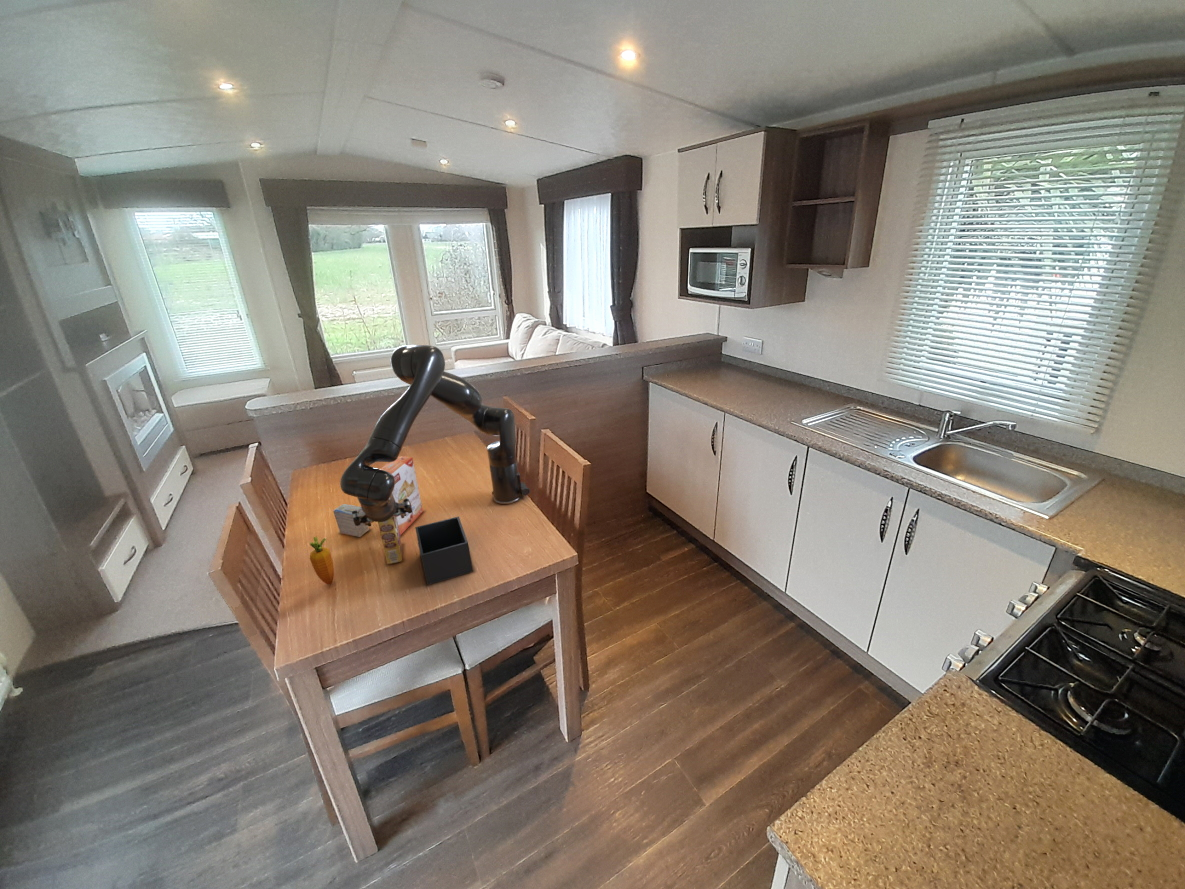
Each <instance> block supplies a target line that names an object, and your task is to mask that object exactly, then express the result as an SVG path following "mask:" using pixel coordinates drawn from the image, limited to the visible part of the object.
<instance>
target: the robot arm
mask: <svg viewBox="0 0 1185 889" xmlns="http://www.w3.org/2000/svg"><path fill="white" fill-rule="evenodd" d="M390 365H391V369H392V371H393V373H394V374H395V376H396V377H397V378H398V379H399V380H400V381H402V382H403V383H405V384H407V385H409V386H408V388H407V389H406V391H405V392H404V393H403V394H402V395H401V396H400V397H399V398H398V399H397V400H396V401H395V402H394V403H392V404H391V405H390V407H388V408H387V409H386V410H385V411H384V412H383V413H382V415H380V417H379V418H378V420H377V422H376V424H375V425H374V428H373V430H372V432H371V434H370V436H369V439H368V441H367V442H366V444H365V446H364V447H363V449H362V450H361V451H360V453H358V455H357V456H356V458H354V459H353V461H351V463H350V464H349V465H348V466H347V467H346V469H345V470H344V472H343V473H342V475H341V476H340V477H341V478H340V481H339V482H340V483H339V484H340V489H341V491H342V492H343V494H345V495H347V496H351V497H355V498H357V500H358V503H359V504H360V507H361V508H362V510H363V512H361V513H360V512H357V511H353V512H352V515H353V520H354V523H355V525H356V526H359V525H361V524H360V523H363V524H364V525H368V526H369V527H372V523H378V522H384V521H387V520H389V519H390V518H391V517H397V516H400V515H401V518H404V516H406V513H407V512H408V513H412V512H413V511H412V506H411V503H410V501H409V499H404V501H403V503H400V504H398V503H397V502H395V499H394V496H393V494H392V492H393V490H394V487H395V478H394V476H393V475H392V474H391V473H389V472H387V471H384V470H380V469H381V468H376V467H374V466H372V465H373V464H376V463H389V462H394V461H395V460H396V459H397V458H398V456H400V454H401V451H402V450H403V446H404V444H405V442H406V440H407V437H408V434H409V433H410V431H411V428H412V427H413V424H414V422H415V420H416V418H417V417H418V416H419V414H420V412H421V411H422V410H423V408H424V406H425V405H426V403H427V401H428V400H429V399H430V397H432V398H433V399H434V400H436V401H437V402H439V403H441V404H442V405H443V406H445V407H446V408H448V409H449V410H450V411H452V412H454V413H456V414H457V415H459V416H461V417H462V418H464V419H465V420H467V421H468V422H470V423H471V424H472V425H473V426H474V427H475V428H476V429H477V430H478V431H480V432H481V433H482V434H484V435H487V436H494V437H499V440H495V441H494V442H492V443H490V444H489V445H488V446H487V449H486V450H487V457H488V458H487V459H488V464H489V465H488V466H489V471H490V479H491V480H490V481H491V488H492V491H491V496H492V497H493V501H494V502H495V503H497V504H500V505H509V504H510V505H511V504H514V503H516V502H518V501H520V499H523V497H524V496H525V497H526V496H528V495H529V494H530V492H531V489H530V488H529V487H528V486H527V485H526V483H525V482H524V481H523V482H522V481H521V474H520V472H519V468H518V460H517V449H516V446H517V435H516V434H517V433H516V419H515V413H514V412H513V410H512V409H510V408H505V407H495V406H488V405H486V404H484V403H483V401H482V400H483V398H482V395H481V392H480V391H479V390H478V388H477V387H475V386H474V385H473V384H472V383H471V382H469V381H468V380H466V379H464V378H463V377H460V376H459V375H456V374H453V373H450V372H448V371H445V369H446V360H445V356H444V354H443V352H442V350H441V349H440V348H438V347H437V346H435V345H428V344H427V345H426V344H406V345H401V346H399V347H396V348H395V349H394V350H393V352H392V353H391V356H390Z"/></svg>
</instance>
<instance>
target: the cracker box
mask: <svg viewBox="0 0 1185 889" xmlns="http://www.w3.org/2000/svg"><path fill="white" fill-rule="evenodd" d="M379 469H380V470H384V471H387V472H389V473H391V474H392V475H393V476H394V478H395V487H394V490H393V492H392V494H393V496H394V499H395V502H397V503H398V504H400V503H403V501H404V499H409V501H410V503H411V506H412V511H413V512H412V513H408V512H407V513H406V516H404V518H401V515H400V516H397V517H396V519H397V524H398V528H399V533H400V536H402V534H404V532H405V531H406V530H407V529H408V528H409V527H410V526H411V525H412V524H413V523H414V522H415V521H416V520H417V519H418V518H419V517H420V515H421V514H422V513H423V512H424V510H423V505H422V501H421V495H420V490H419V484H418V479H417V473H416V469H415V464H414V459H413V457H412V456H400V455H399V456H398V458H397V459H396V460H395V461H394V462H386V464H384V465H383V466H382V467H381V468H379Z"/></svg>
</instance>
